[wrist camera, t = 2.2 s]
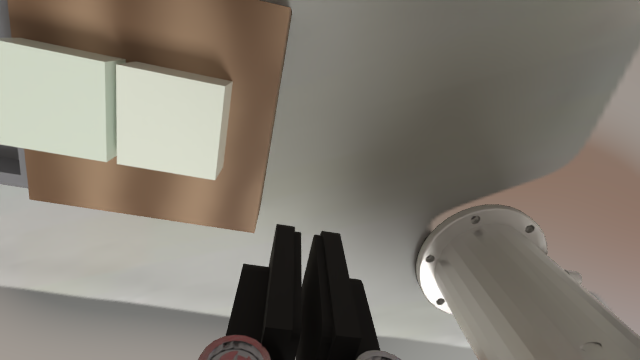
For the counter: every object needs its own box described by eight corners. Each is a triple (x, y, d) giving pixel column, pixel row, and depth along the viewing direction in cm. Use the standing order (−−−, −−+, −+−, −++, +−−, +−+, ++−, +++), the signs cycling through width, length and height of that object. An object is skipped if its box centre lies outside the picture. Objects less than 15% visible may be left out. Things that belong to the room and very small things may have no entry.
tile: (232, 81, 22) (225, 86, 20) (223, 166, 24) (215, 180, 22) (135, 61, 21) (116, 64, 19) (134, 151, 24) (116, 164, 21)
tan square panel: (291, 12, 25) (290, 7, 21) (260, 206, 31) (254, 233, 27) (54, -44, 23) (0, -62, 19) (68, 176, 29) (29, 199, 25)
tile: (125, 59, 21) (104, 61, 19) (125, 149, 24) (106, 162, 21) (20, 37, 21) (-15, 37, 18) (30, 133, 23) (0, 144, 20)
